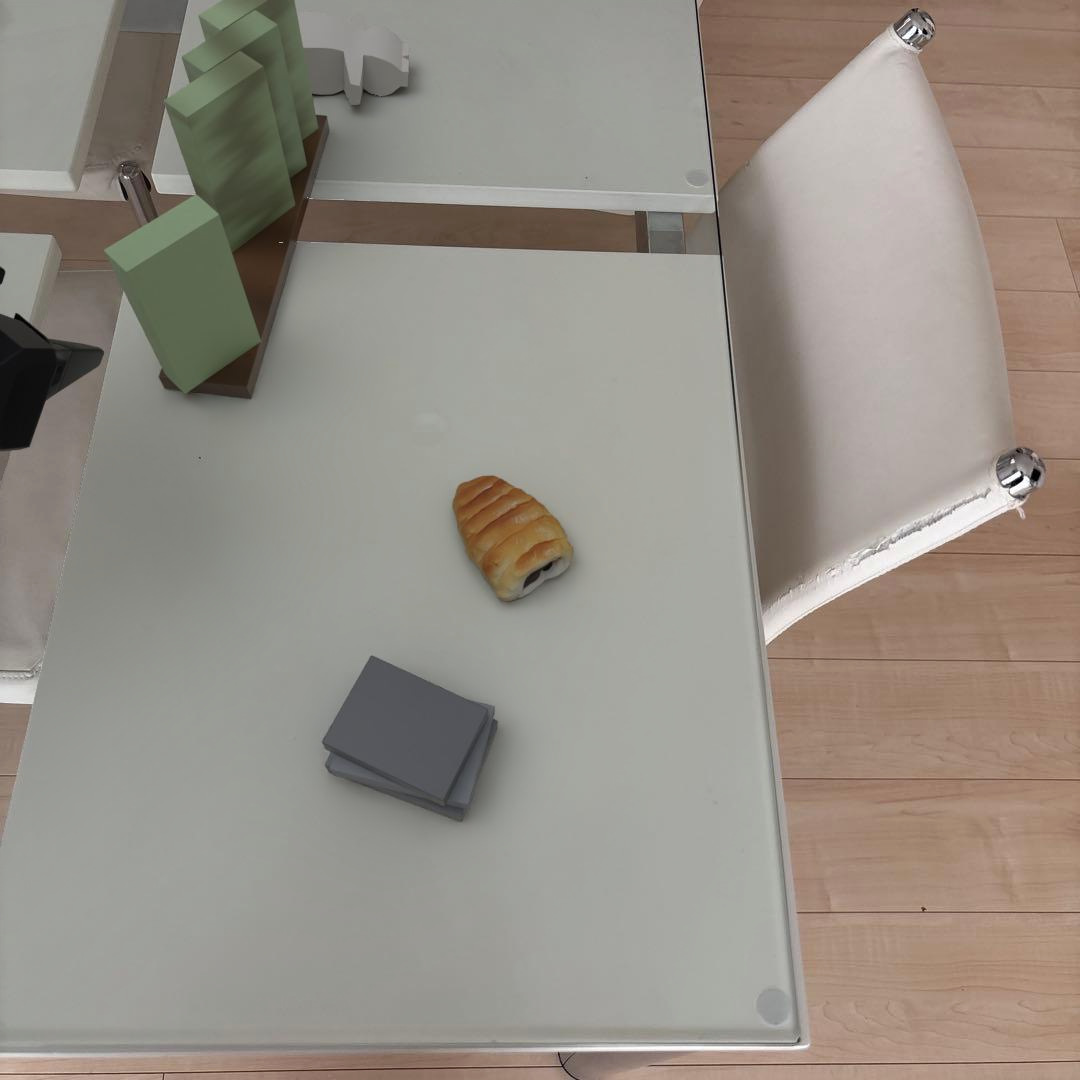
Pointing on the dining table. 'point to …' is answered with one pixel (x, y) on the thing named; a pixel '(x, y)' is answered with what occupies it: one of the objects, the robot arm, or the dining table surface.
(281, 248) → the brown wooden book rack
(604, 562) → the dining table surface
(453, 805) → the grey books
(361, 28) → the white curved block
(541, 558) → the pastry
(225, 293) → the green book
